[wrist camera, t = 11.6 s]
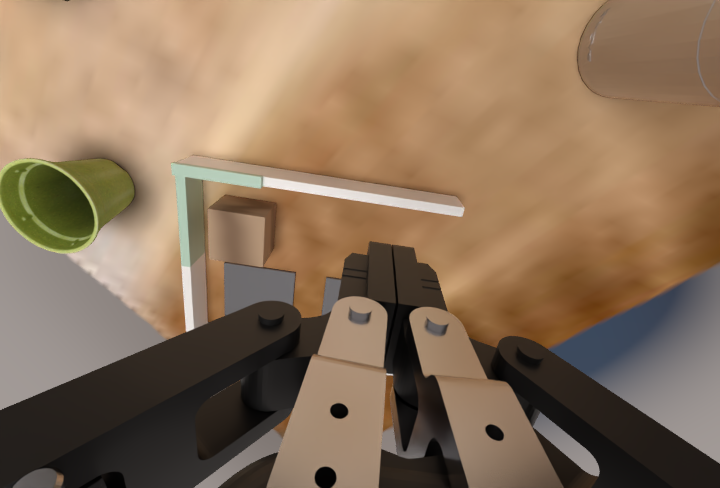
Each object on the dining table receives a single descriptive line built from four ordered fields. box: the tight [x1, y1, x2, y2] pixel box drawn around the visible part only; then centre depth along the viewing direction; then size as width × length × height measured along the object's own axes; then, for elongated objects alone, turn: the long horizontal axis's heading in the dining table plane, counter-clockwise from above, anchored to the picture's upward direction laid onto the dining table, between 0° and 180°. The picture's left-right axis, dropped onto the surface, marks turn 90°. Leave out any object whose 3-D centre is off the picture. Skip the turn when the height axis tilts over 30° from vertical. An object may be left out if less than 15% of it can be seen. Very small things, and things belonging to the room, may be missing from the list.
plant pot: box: [0, 158, 134, 253], centre depth 38 cm, size 9×9×9 cm
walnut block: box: [208, 195, 276, 267], centre depth 41 cm, size 6×6×5 cm
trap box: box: [171, 155, 465, 375], centre depth 43 cm, size 30×24×5 cm
